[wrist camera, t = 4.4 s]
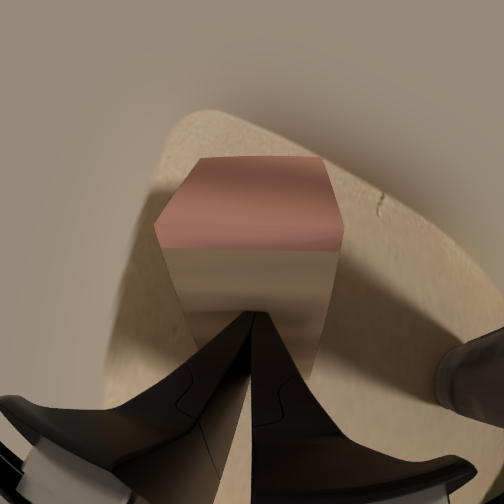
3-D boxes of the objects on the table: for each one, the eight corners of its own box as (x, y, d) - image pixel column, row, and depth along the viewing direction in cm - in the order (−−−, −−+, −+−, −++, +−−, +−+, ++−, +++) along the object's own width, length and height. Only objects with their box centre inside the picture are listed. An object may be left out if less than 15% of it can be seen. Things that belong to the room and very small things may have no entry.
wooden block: (308, 380, 12) (344, 227, 7) (208, 374, 13) (153, 224, 7) (307, 303, 16) (321, 157, 10) (224, 300, 17) (200, 158, 11)
